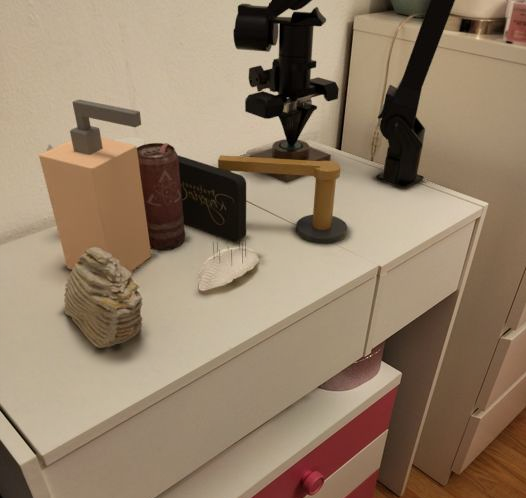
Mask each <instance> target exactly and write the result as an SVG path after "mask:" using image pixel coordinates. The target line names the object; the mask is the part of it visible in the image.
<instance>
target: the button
mask: <svg viewBox="0 0 526 498" xmlns="http://www.w3.org/2000/svg"><path fill="white" fill-rule="evenodd" d="M301 146H302V145H301V144H300V143H298V142H296V143H295V145H293V146H290V145H288V143H287V142H283V143H281V145H280V148H282V149H285V150H298V149H301Z"/></svg>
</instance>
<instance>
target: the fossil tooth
mask: <svg viewBox="0 0 526 498" xmlns="http://www.w3.org/2000/svg"><path fill="white" fill-rule="evenodd" d="M120 263H121V262H120V260H117V259H115V258H113V255H112V254H110V253H109V252H105V251H103V250H102V249H101V248H96V247H91V248H89V249H87V250H86V251H85V254H83V255H81V257H80V258H79V260H78V261H77V264H75V267H73V270H71V271H70V274H69V276H68V278H67V281H66V284H65V288H64V291H65V292H64V295H63V296H64V308H65V312H64V313H65V314H66V315H67V316H69V317H70V318H71V320H72V321H73V322H74V323H75V325H76V326H77V327H78V328H79V330H81V331H82V333H83V334H84V336H85V337H86V338H87V340H88V341H89V342H90V343H91V344H92V345H93V346H94V347H95V348H98V349H104V348H110V347H113V346H116V345H119V344H123V343H125V342H127V341H128V340H130V339H132V338H133V337H134V336H136V335H137V334H139V333H141V332H142V328H143V323H142V322H143V317H142V314H141V312H142V311H141V309H142V306H143V296H142V295H141V292H140V291H138V289H139V288H140V286H139V285H138V284H137V283H136V282H135V281H134V279H133V278H132V275H133V272H132V271H131V272H130V271H128V270H127V269H126V268H125V267H123V266H121V265H120Z"/></svg>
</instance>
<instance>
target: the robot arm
mask: <svg viewBox="0 0 526 498" xmlns="http://www.w3.org/2000/svg"><path fill="white" fill-rule="evenodd" d="M311 2H313V0H270V2H268V5H253V4H250V3H240V4H239V5H237V14H236V17H235V22H234V28H233V31H232V32H233V33H232V34H233V43H234V47H235V49H236V50H242V51H252V52H253V51H255V52H266V53H268V52H270V51H271V49H272V46H273V47H274V46H277V44H278V58H273V60H272V63H271V68H268V69H264V68H263V66H262V65H257V66H252V67H249V68H248V83H249V86H250V87H251V88H256V90H257V92H255V93H251V94H248V95H247V96H246V98H245V99H244V111H245V112H246V113H248V114H251V115H253V116H257V117H258V118H262V119H265V120H269V119H274V118H277V117H278V119H279V121H280V124H281V126H282V129H283V133H284V136H285V139H286V140H287V143H288V145H290V146H293V145H295V143H296V141H297V140H299V138H300V136H301V135H302V133H303V131H304V128H305V127H306V124H307V123H308V122H309V120H310V118H311V117H312V115H313V113H314V111H316V110H318V105H315V104H313V101H312V98H315V97H319V96H323V98H324V100H325V101H326V102H332V101H335V100H339V91H340V87H339V86H338V84H337V82H336V81H333V80H329V79H326V78H322V77H314V78H311V75H312V74H311V73H312V69H317V60H314V59H312V58H313V55H312V54H313V44H314V43H313V41H314V27H322V26H323V25H325V23H327V18H326V17H325V16H324V15H323V14H322V12H320V9H319V7H318V6H315V7H314V8H313V9H312V10H311V12H310V11H309V12H307V11H299V10H301V9H304V8H305V7H306V6H307V5H309V3H311ZM455 2H456V0H429V3H428V4H427V8H426V11H425V13H424V15H423V16H424V17H423V18H422V22H421V24H420V28H419V31H418V33H417V36H416V39H415V43H414V44H413V47H412V50H411V53H410V55H409V59H408V61H407V64H406V67H405V70H404V73H403V76H402V77H401V79H400V81H399V83H398V84H397V86H396V87H395V86H394V85H392V84H389V85H388V88H387V91H386V93H385V97H384V103H382V105H381V108H380V110H379V113H378V116H377V119H378V120H380V122H379V131H380V133H381V134H382V136H383V138H385V140H387V143H388V147H387V151H386V157H385V160H384V166H383V172H381V173H378V174H376V175H375V178H376V179H377V180H380V181H382V182H385V183H388V184H390V185H393V186H396V187H398V188H401V189H406V188H408V187H410V186H413V185H414V184H416V183H419V182H421V181H423V180H424V178H425V177H424V176H423V175H421V174H418V171H419V166H420V162H421V157H422V155H421V154H422V151H423V146H424V140H425V133H426V127H425V126H424V125H423V124H422V122H421V121H420V119H418V117H417V114H418V110H419V109H418V108H419V104H420V99H421V94H422V89H423V87H424V82H425V80H426V78H427V76H428V72H429V70H430V68H431V65H432V63H433V59H434V56H435V54H436V51H437V50H438V46H439V43H440V41H441V39H442V36H443V33H444V31H445V28H446V25H447V23H448V20H449V17H450V14H451V12H452V9H453V7H454V5H455ZM288 10H292V11H293V12H292V14H291V16H280V15H282V14H283V13H285V12H286V11H288ZM266 89H267V90H268V89H269V91H270V92H266V91H264V90H266ZM271 92H273V93H277V94H273V93H271Z"/></svg>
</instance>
